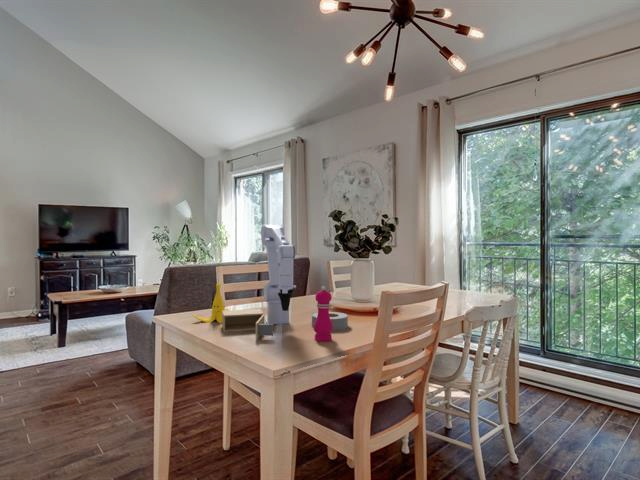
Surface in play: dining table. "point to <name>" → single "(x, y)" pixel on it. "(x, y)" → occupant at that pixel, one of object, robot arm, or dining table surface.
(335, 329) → the tape roll
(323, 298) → the pepper mill
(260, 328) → the front flap
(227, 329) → the carton
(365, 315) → the dining table surface
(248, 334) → the dining table surface
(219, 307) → the banana peel
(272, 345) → the dining table surface
